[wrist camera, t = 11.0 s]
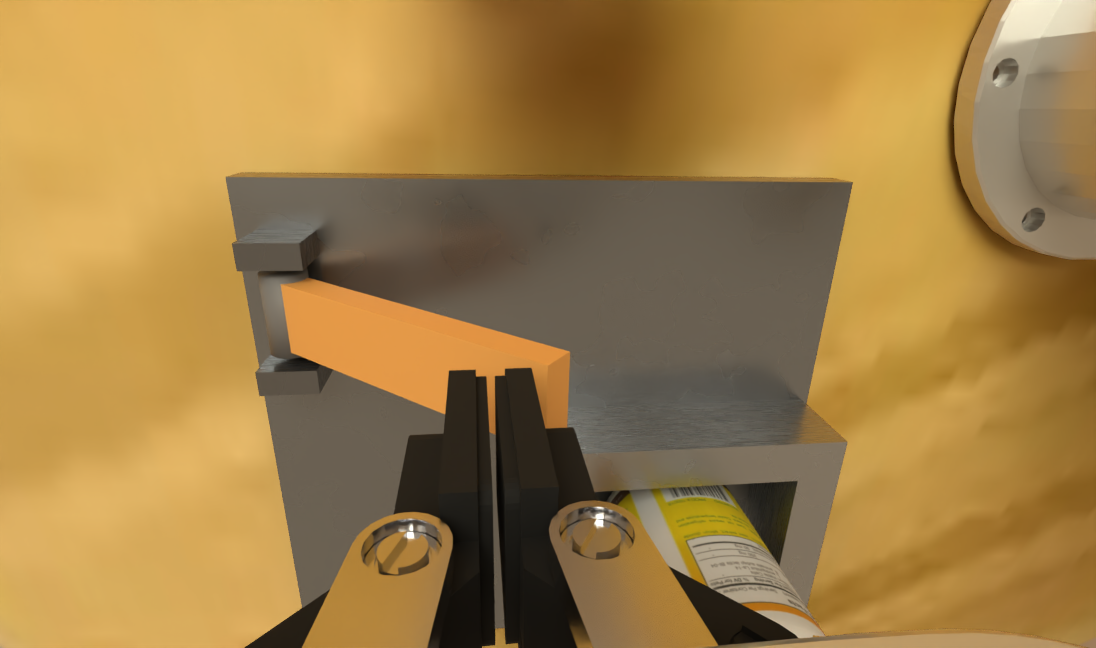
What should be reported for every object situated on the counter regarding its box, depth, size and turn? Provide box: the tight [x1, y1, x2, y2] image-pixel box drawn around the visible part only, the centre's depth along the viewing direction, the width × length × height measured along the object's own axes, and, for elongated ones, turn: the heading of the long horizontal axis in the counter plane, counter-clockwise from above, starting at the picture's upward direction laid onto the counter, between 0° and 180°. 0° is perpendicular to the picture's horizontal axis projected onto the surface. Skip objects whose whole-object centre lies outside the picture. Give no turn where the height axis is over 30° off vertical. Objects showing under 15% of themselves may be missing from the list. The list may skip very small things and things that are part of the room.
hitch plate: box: [226, 173, 853, 628], centre depth 21 cm, size 20×19×4 cm
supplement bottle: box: [606, 485, 825, 638], centre depth 19 cm, size 6×6×10 cm
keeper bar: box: [257, 268, 570, 435], centre depth 15 cm, size 11×3×1 cm
